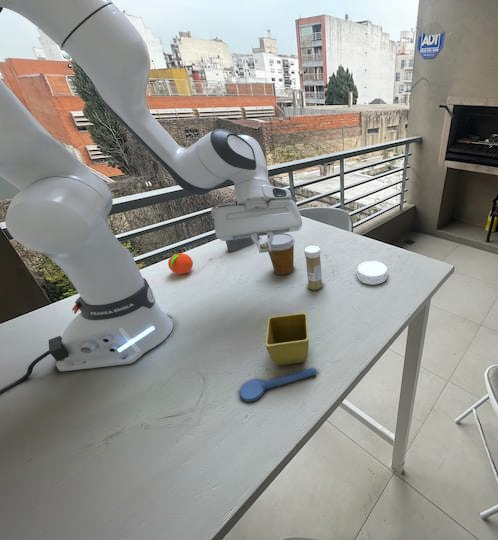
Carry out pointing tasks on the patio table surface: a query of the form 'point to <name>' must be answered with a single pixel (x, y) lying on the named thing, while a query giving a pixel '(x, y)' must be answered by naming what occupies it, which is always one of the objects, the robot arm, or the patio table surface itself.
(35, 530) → the patio table surface
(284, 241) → the disposable coffee cup
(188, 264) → the clementine
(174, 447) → the patio table surface
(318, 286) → the sprinkles bottle
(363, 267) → the white round disc
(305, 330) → the flower pot
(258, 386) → the spoon
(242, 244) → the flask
